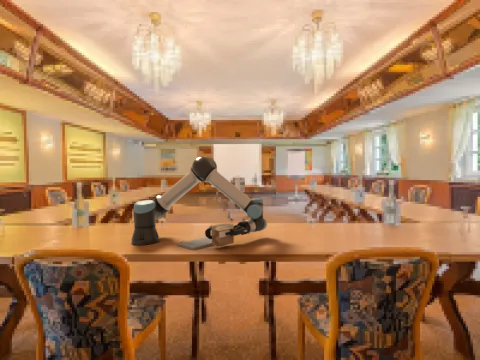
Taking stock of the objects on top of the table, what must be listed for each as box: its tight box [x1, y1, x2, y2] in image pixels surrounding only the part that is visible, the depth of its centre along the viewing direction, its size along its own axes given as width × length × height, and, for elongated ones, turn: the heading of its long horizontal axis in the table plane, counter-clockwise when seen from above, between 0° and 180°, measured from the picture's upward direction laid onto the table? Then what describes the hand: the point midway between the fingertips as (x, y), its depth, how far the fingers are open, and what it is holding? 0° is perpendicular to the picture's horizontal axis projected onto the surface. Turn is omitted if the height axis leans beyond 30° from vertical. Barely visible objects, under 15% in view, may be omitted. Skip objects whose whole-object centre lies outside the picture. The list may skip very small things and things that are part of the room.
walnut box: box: [211, 222, 235, 247], centre depth 152 cm, size 6×10×10 cm, turn 137°
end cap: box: [204, 224, 213, 239], centre depth 176 cm, size 10×7×7 cm
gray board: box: [177, 237, 213, 251], centre depth 159 cm, size 14×18×1 cm
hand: (215, 233), depth 148 cm, fingers closed on walnut box, 6 cm apart
